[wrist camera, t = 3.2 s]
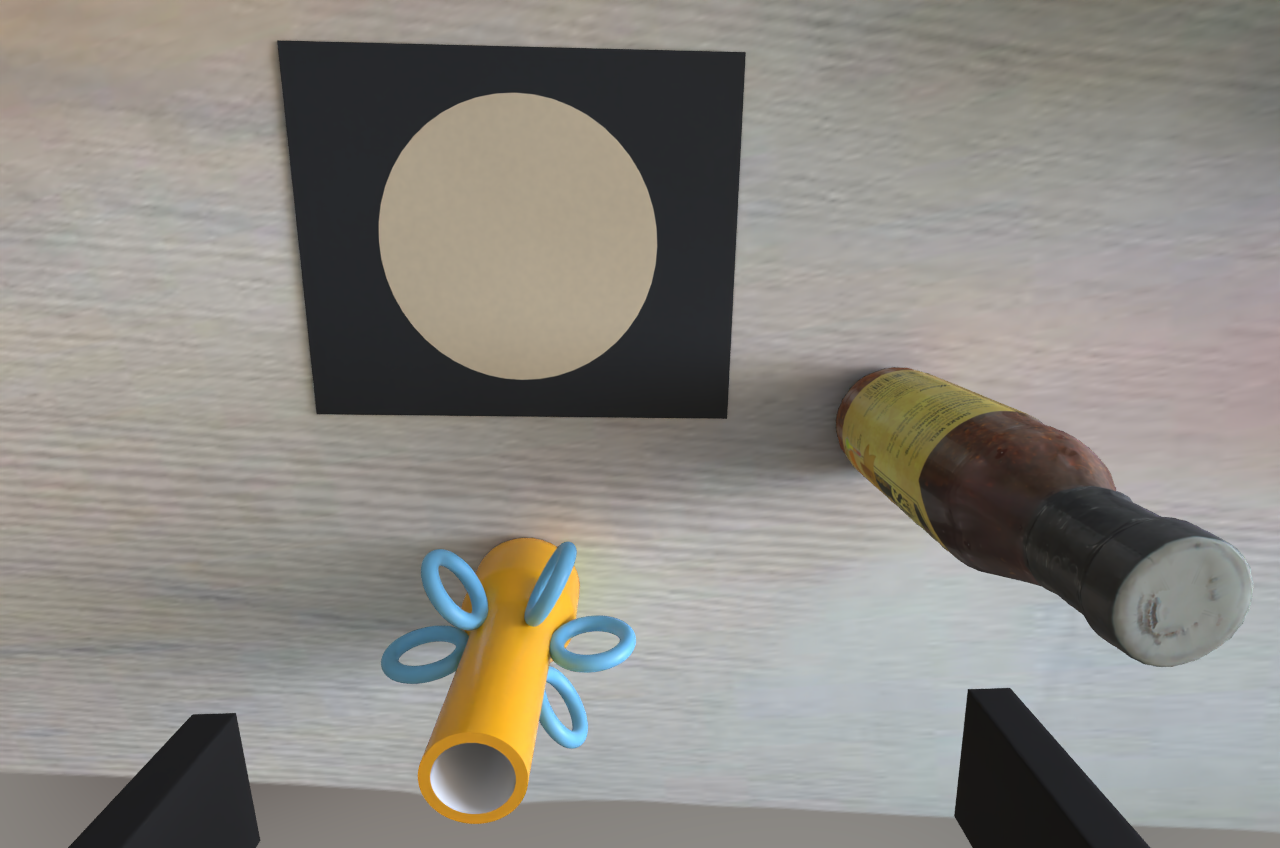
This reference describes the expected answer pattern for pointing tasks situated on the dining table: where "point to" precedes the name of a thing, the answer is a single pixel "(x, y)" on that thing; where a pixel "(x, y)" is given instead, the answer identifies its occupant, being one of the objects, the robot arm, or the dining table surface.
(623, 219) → the mat
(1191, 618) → the sauce bottle
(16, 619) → the dining table surface
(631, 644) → the cylinder
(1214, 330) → the dining table surface
